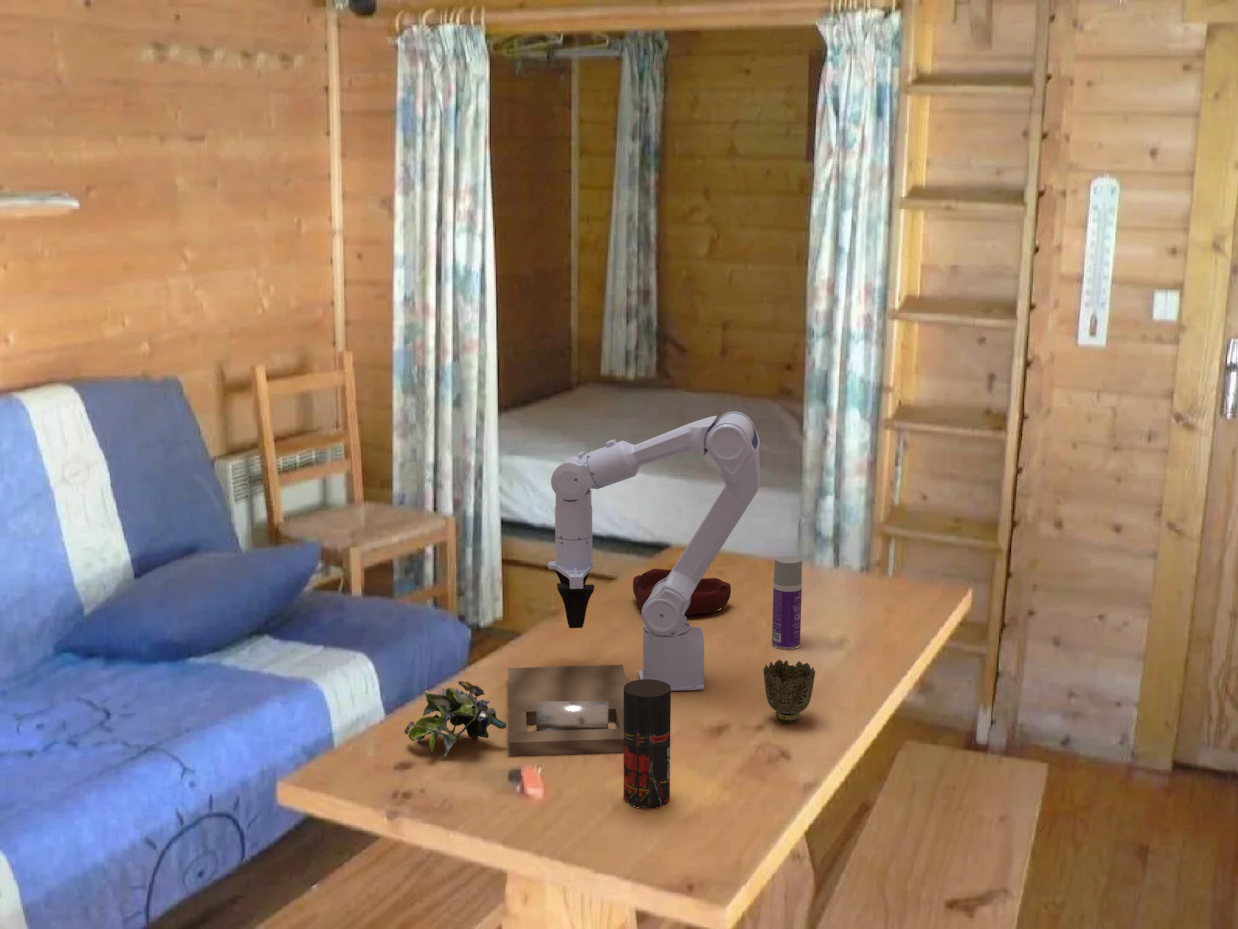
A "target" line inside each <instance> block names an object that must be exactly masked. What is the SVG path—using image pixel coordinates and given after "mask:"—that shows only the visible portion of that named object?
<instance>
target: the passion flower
mask: <svg viewBox="0 0 1238 929" xmlns="http://www.w3.org/2000/svg"><path fill="white" fill-rule="evenodd" d="M458 685H459V686H460V687H462V688H463V689H464V690H465V691H466V692H468V693H469V694H468V693H465V692H464V691H463V690H459V689H457V688H454V687H451V686H449V687H447V688H446V689H445V688H443V687H442V688H440V689H439V690H438V691H437V692H438V693H437V694H435V693H431V692H429V691H428V690H425V691H424V696H425V697H426V699H425V700H426V702H427V705H426V706H425V707H424V710H423V714H422V716H423V717H421V718H419V720H417V721H416V723H415V722H414V721H411V720H409V722H408V725H407V726H406V727H405V729H404V731H403V732H404V734H405V735H408V739H409V740H411V742H414V741H415V742H416V741H417V742H418V743H420V742H422V740H424V739H425V738H426V736H428V735H430V738H429V744H428V745H429V749H430V751H431V752H432V753H434V750H435V746H436V740H437V739H438V738H439V737H440V736H442V737H443V745H444V747H445V751H444V755H443V757H441V758H442V759H441V761H444V760H445V758H446V757H447V755H448V754H449V752H450V750H451V749H452V747H453V745H454V744H455V743H457V742H459V738H460V736H461V734H463V732H465V731H466V733H467V736H468V737H469V738H470V739H473V740H477V739H478V738H484V739H485V738H486V739H488V738H489V736H490V735H489V732H488V727H489V726H490V725H492V726H494V727H496V729H497V728H498V729H500V730H502V729H503V730H505V729H506V728H507V722H505V721H502V720H501V719H498V717H497V714H496V713H497V712H496V710H495V708H492V707H491V708H490V707H488V704H490V702H491V701H488V700H484V699H480V700H477V698H478V697H480V696H483V695H486V693H485V691H484V689H483V688H481V687H480V686H479V685H477V684H476V685H475V684H473V683H472V682H471V681H468V680H466V681H462V680H458ZM441 690H442V691H441ZM434 712H439V713H440V716H439V715H438V713H437V714H436V713H435V715H434V716H433V715H432V716H430V714H431V713H434ZM428 714H429V716H426V715H428ZM448 721H449V723H450V724H451V725H452V726H453V729H452V730H450V729H449V728H448V726H447V724H448ZM462 725H463V726H464V727H463V729H461V730H460V731H459V732H458V733H457V734H455V731H456V730H455V729H456V727H457V726H462ZM441 731H444V732H446V733H443V732H441ZM447 733H448V734H447Z"/></svg>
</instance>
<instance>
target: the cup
mask: <svg viewBox="0 0 1238 929" xmlns="http://www.w3.org/2000/svg"><path fill="white" fill-rule="evenodd" d="M815 676H816V670H815V668H814V667H811V665H810V664H809V663H808V662H805V663H802V661H800V660H798V661H797V662H796V665H793V664H791V665H789V661H788V660H784V662H783V661H782V659H777V660H776V661H775V663H774V664H773V662H772V661H770V662H769V664H768V665H767V664H765V666H764V667H763V678H764V680H763V681H764V688H765V695H766V696H765V698H766V700H767V703H768V705H769V706H770V707H771V709H772V710H773V711H775V713H774V714H775V718H776V720H777V721H778V722H780V723H783V724H789V725H790V724H794V723H795V724H796V723H797V722H799V721H800V719H801V716H802V714H801V713H802V712H804V710H805V709H806V710H807V708H808V706H809V705H810V702H811V699H812V693H813V689H814V682H815Z"/></svg>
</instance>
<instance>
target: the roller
mask: <svg viewBox="0 0 1238 929" xmlns="http://www.w3.org/2000/svg"><path fill="white" fill-rule="evenodd" d="M608 715H609V710H608V702H596V701H538V702H537V715H536V724H535V726H536V729H535V731H559V730H588V729H609V722H608Z"/></svg>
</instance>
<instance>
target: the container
mask: <svg viewBox="0 0 1238 929" xmlns="http://www.w3.org/2000/svg"><path fill="white" fill-rule="evenodd" d="M802 559H803V558H801V557H799V556H795V555H778V556H776V557H775V558H774V569H773V570H774V571H773V572H774V573H773V587H772V588H773V590H772V627H771V628H772V633H771V645H772V644H773V645H774V646H775V647H777V648H776V649H778V648H782V649H781V650H783V649H792V650H794V649H793V648H796V647H798V646H799V645H800V646H801V628H802V627H801V626H802V624H801V622H802V621H801V620H802V593H803V592H802V590H803V589H802V586H803V585H802V584H803V582H802V580H803V579H802V578H803V577H802V576H803V575H802V574H803V570H802V569H803V568H802V567H803V563H802V562H803V560H802ZM773 645H772V646H773ZM775 647H774V648H775Z"/></svg>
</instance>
